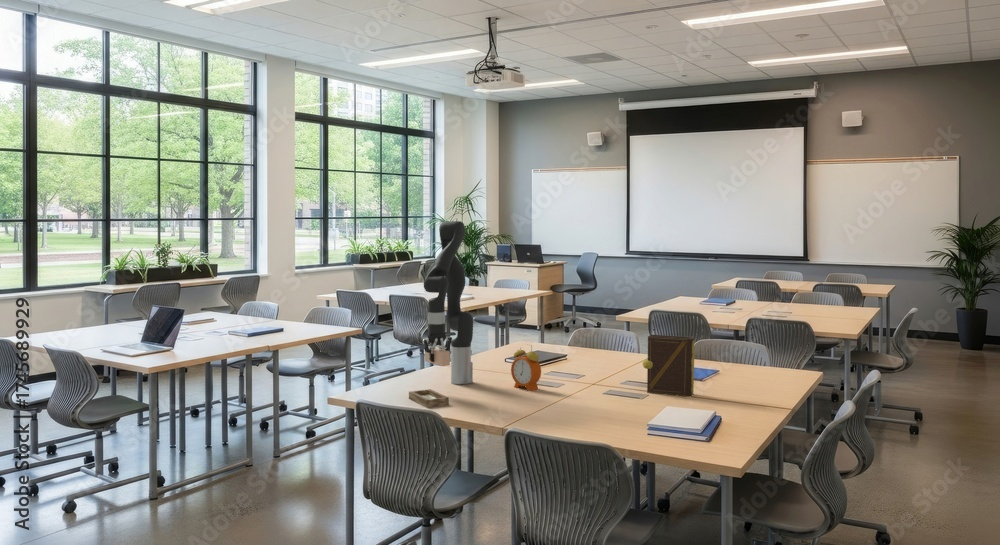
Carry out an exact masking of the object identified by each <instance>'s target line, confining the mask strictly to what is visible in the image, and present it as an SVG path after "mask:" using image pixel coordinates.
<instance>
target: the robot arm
mask: <svg viewBox="0 0 1000 545" xmlns="http://www.w3.org/2000/svg"><path fill="white" fill-rule="evenodd" d="M438 230H439V239H440V246H441V251H440V252H439V253H438V255H437V256H436V258H435V261H434V263H433V266H432V268H431V270H430V271H429V273H428V274H427V275H426V277H425V278H424V281H423V288H424V291H426V292H427V293H438V295H437V297H432V298H429V299H428V301H427V302H428V305H427V306H428V307H427V308H428V310H427V311H428V312H427V330H428V331H427V334H428V335H427V337H426V338H423V339H421V343H422V345H423V349H424V353H425V352H427V353H429V360H430V361H431V362H434V354H433V353H434V349H435V348H437V347H438V348H439V349H442V350H447V351H450V370H451V371H450V373H451V374H450V376H451V377H450V379H451V380H450V382H451V384H452V385H453V384H454V385H468V384H471V383H473V382H474V381H473V379H474V377H473V375H474V372H473V370H474V369H473V368H474V363H473V362H472V340H473V338H474V335H473V333H474V318H473V316H472V314H471V313H470V312H468V311H462V309H461V298H462V295H463V292H464V289H465V286H466V272H465V267H464V265H463V264H462V263H461V261H460V260H459V258H458V257H457V256H456V254H457V252H458V250H459V248H460V246H461V245H462V243H463V241H464V238H465V236H466V227H465V223H463V221H461V220H453V221H441V223H440V224H439V229H438ZM445 301H446V302H445ZM445 303H447V304H446V306H447V308H445V307H446V306H445ZM445 309H446V310H447V314H446V312H445ZM446 315H447V316H446ZM446 317H447V319H446ZM446 320H447V321H446ZM446 322H447V325H448V327H449V330H451V331H454V332H457V334H456V337H455V338H453V337H451V336H447V335H446V327H447V326H446ZM428 344H429V345H428ZM436 346H437V347H436ZM429 347H430V348H429Z"/></svg>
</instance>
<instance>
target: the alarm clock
mask: <svg viewBox="0 0 1000 545" xmlns="http://www.w3.org/2000/svg"><path fill="white" fill-rule="evenodd" d="M526 345H529V344H526ZM530 349H531V350H530V351H528V352H527V353H526V351H525V350H524V349H522V348H520V349H517V350H516V351H515V352H514V353H513V358H514V360H513V361H512V363H511V366H510V367H511V368H510V373H511V374H510V375H511V378H512V380H513V381H514V382H515V383H514V386H513V388H514V389H519V388H523V387H525V388H526V391H531V392H532V391H534V390H535V391H536V390H539V386H538V384H537V383H538V382H539V381H540V380H541V379H540V378H541V376H542V367H541V365H540V362H539V360H540V357H539V354H538V353H537V352H536V351H533V346H532V345H531V344H530Z"/></svg>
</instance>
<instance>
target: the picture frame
mask: <svg viewBox="0 0 1000 545" xmlns="http://www.w3.org/2000/svg"><path fill="white" fill-rule="evenodd" d="M408 399H409V400H411V401H413V402H415V403H416V404H419V405H420V406H422V407H425V408H426V409H427V407H428V408H433V407H443V406H448V405H449V402H450V401H449V400H450V398H449V397H448V396H446V395H444V394H442V393H439V392H437V391H435V390H433V389H432V388H430V389H429V388H428V389H419V390H412V391H408Z"/></svg>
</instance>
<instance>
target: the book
mask: <svg viewBox="0 0 1000 545" xmlns="http://www.w3.org/2000/svg"><path fill="white" fill-rule="evenodd" d="M642 366H643V368H644V369H647V373H646V374H647V375H646V376H647V378H646V380H647V381H646V384H647V386H646V389H647V391H646V393H648V394H654V395H655V394H657V395H665V394H666V395H667V396H676V395H678V396H679V397H686V396H691V397H693V396H694V393H695V392H694V389H695V388H694V381H695V375H694V374H695V337H693V336H683V335H682V336H679V335H667V334H666V335H664V334H650V335H648V336H647V358H645V359H643V360H642ZM692 395H693V396H692ZM678 396H677V397H678Z"/></svg>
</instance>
